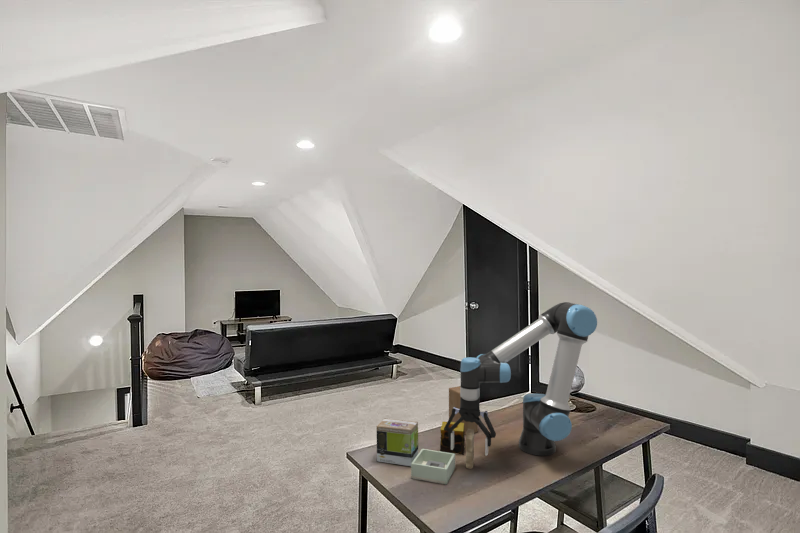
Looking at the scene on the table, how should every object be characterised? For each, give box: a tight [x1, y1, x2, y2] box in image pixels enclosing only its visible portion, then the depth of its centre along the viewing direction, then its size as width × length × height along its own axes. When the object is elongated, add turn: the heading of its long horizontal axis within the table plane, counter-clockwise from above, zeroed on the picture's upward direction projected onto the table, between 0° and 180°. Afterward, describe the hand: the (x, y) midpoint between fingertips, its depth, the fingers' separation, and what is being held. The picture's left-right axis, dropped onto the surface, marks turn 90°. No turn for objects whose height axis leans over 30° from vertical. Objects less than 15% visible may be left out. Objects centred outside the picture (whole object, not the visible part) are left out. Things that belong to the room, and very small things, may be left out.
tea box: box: [376, 418, 419, 467], centre depth 176 cm, size 15×10×15 cm, turn 71°
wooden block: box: [448, 385, 479, 436], centre depth 205 cm, size 10×10×20 cm
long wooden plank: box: [465, 429, 475, 470], centre depth 170 cm, size 2×4×14 cm, turn 160°
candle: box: [439, 421, 466, 455], centre depth 186 cm, size 10×10×10 cm
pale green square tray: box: [410, 448, 456, 485], centre depth 165 cm, size 14×14×6 cm
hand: (469, 451), depth 170 cm, fingers open, 13 cm apart
